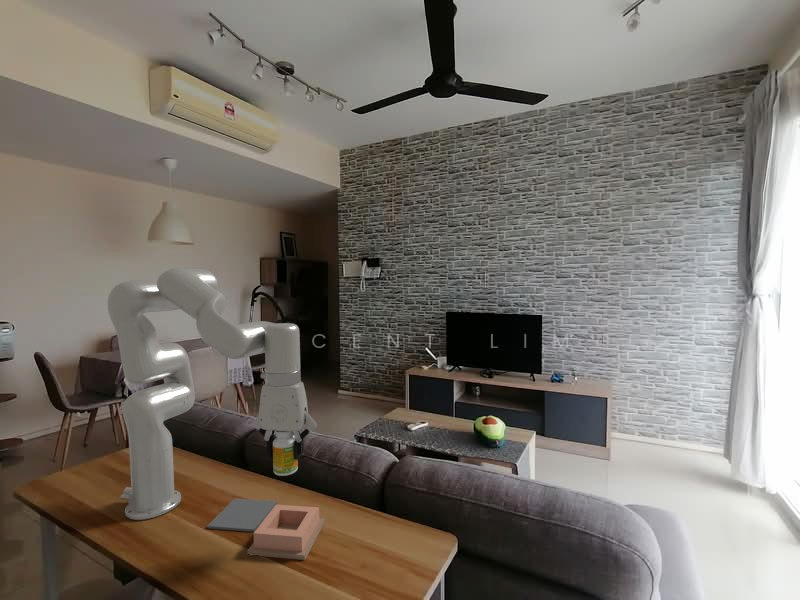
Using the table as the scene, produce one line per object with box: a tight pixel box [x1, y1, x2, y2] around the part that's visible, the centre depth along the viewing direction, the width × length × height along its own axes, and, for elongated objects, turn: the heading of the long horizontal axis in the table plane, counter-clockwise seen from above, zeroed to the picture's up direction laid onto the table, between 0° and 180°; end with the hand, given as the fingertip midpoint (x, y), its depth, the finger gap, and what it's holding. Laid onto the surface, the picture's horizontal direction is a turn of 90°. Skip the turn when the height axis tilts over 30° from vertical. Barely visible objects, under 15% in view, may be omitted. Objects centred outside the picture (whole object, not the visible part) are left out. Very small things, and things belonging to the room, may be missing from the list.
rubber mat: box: [206, 498, 278, 533], centre depth 99 cm, size 12×12×1 cm
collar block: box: [247, 504, 326, 561], centre depth 90 cm, size 13×13×4 cm
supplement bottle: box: [272, 431, 299, 477], centre depth 89 cm, size 5×5×10 cm
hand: (285, 455), depth 89 cm, fingers closed on supplement bottle, 5 cm apart
